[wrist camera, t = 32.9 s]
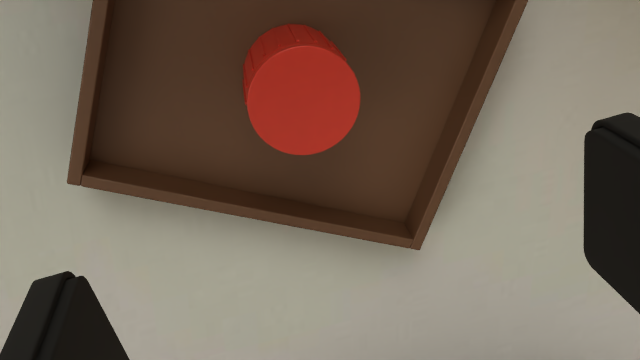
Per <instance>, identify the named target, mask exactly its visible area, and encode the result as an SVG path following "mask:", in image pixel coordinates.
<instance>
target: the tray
mask: <svg viewBox="0 0 640 360" xmlns="http://www.w3.org/2000/svg"><path fill="white" fill-rule="evenodd" d="M527 2H528V0H93V4H92V11H91V18H90V25H89V32H88V39H87V46H86V53H85V60H84V67H83V74H82V81H81V88H80V94H79V101H78V108H77V115H76V122H75V129H74V136H73V143H72V150H71V157H70V164H69V171H68V178H67V183H68V184H73V185H78V186H80V185H81V186H83V187H88V188H94V189H99V190H104V191H109V192H115V193H120V194H125V195H131V196H136V197H141V198H146V199H152V200H157V201H162V202H167V203H173V204H178V205H183V206H189V207H194V208H199V209H204V210H210V211H215V212H220V213H225V214H231V215H236V216H241V217H247V218H252V219H257V220H262V221H268V222H273V223H278V224H284V225H289V226H294V227H299V228H305V229H310V230H315V231H320V232H326V233H331V234H336V235H342V236H347V237H352V238H357V239H363V240H368V241H373V242H378V243H384V244H389V245H394V246H400V247H405V248H411V249H415V250H420V248H421V246H422V243H423V241H424V239H425V236H426V234H427V232H428V230H429V227H430V225H431V223H432V220H433V218H434V216H435V213H436V211H437V209H438V207H439V204H440V202H441V200H442V197H443V195H444V193H445V190H446V188H447V186H448V184H449V181H450V179H451V177H452V174H453V172H454V170H455V167H456V165H457V163H458V161H459V158H460V156H461V154H462V151H463V149H464V147H465V144H466V142H467V140H468V138H469V135H470V133H471V131H472V128H473V126H474V124H475V121H476V119H477V117H478V115H479V112H480V110H481V108H482V105H483V103H484V101H485V98H486V96H487V94H488V91H489V89H490V87H491V85H492V82H493V80H494V78H495V75H496V73H497V71H498V68H499V66H500V64H501V62H502V59H503V57H504V55H505V52H506V50H507V48H508V45H509V43H510V41H511V39H512V36H513V34H514V32H515V29H516V27H517V25H518V22H519V20H520V18H521V16H522V13H523V11H524V9H525V6H526V4H527ZM287 24H299V25H306V26H308V27H311V28H313V29H315V30H317V31H319V30H320V31H321V32H322V34H323V35H324V36H325V37H326V38H327V39H328V40H329V41H332V42H333V43H334V44H335V46H336V47H337V48H338V49H339V51H340V52H341V53H342V54H343V56H344V57H345V58H346V59H347V60H346V62H347V64H348V65H349V66H350V67H351V69H352V70H353V72H354V73H355V76H356V78H357V81H358V84H359V88H360V108H359V112H358V116H357V118H356V121H355V123H354V125H353V126H352V128H351V129H350V131H349V132H348V133H347V135H346V136H345V137H344V138H343V139H342V140H341V141H339V142H338V143H337V144H335V145H334V146H332V147H331V148H329V149H327V150H325V151H322V152H319V153H315V154H310V155H294V154H288V153H285V152H282V151H279V150H277V149H275V148H273V147H272V146H270V145H269V144H267V143H266V142H265V141H264V140H263V139H262V138H261V137H260V136H259V135H258V134H257V132H256V131H255V129H254V127H253V126H252V123H251V121H250V119H249V114H248V110H247V105H245V100H244V91H243V83H242V80H244V77H243V64H244V63H245V59H246V56H247V54H248V50H249V49H250V48H251V46H252V45H253V44H254V42H255V41H256V40H257V39H258V37H259V36H261V35H263V34H264V33H266V32H267V31H269V30H271V29H272V28H275V27H278V26H282V25H287Z"/></svg>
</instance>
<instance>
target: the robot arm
mask: <svg viewBox="0 0 640 360" xmlns="http://www.w3.org/2000/svg"><path fill="white" fill-rule="evenodd" d="M584 253H585V257H586V259H587V261H588V263H589V264H590V266H591V267H592V268H593V269H594V270H595V271H596V272H597V273H598V274H599V275H600V276H601V277H602V278H603V279H604V280H605V281H606V282H607V283H608V284H609V285H610V286H612V287H613V288H614V289H615V290H616V291H617V292H618V293H619V294H620V295H621V296H622V297H623V298H624V299H625V300H626V301H627V302H628V303H629V304H630V305H631V306H632V307H633V308H634V309H635V310H636V311H637V312H638V313H639V314H640V117H638V116H636V115H634V114H632V113H623V114H619V115H616V116H612V117H609V118H605V119H602V120H598V121H596V122H595V123H594V124H593V126H592V129H591V131H588V132H587V133H586V135H585V141H584ZM0 360H129V358H128V356H127V354H126V352H125V350H124V348H123V346H122V345H121V343H120V341H119V339H118V337H117V335H116V333H115V331H114V329H113V328H112V326H111V324H110V322H109V320H108V318H107V316H106V314H105V312H104V311H103V309H102V307H101V305H100V303H99V301H98V299H97V297H96V295H95V294H94V292H93V290H92V288H91V286H90V284H89V282H88V281H87V279H86V278H85V277H84V276H79V277H75V275H74V274H73V273H71V272H69V271H66V272H63V273H59V274H56V275H52V276H49V277H45V278H42V279H38V280H35V281H34V282H33V283H32V285H31V287H30V289H29V291H28V294H27V296H26V298H25V300H24V302H23V305H22V307H21V309H20V311H19V314H18V316H17V318H16V320H15V322H14V325H13V327H12V329H11V331H10V333H9V336H8V338H7V340H6V342H5V345H4V347H3V349H2V351H1V353H0Z"/></svg>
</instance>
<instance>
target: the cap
mask: <svg viewBox="0 0 640 360" xmlns="http://www.w3.org/2000/svg"><path fill="white" fill-rule="evenodd" d="M346 60H347V59H346V58H345V57H344V56H343V54H342V53H341V52H340V51H339V49H338V48H337V47H336V46H335V44H334V43H333V42H332V41H329V40H328V39H327V38H326V37H325V36H324V35H323V34H322V32H321V31H320V30H319V31H317V30H315V29H313V28H311V27H308V26H306V25H299V24H287V25H282V26H278V27H275V28H272V29H271V30H269V31H267V32H266V33H264V34H263V35H261V36H259V37H258V39H257V40H256V41H255V42H254V44H253V45H252V46H251V48H250V49H249V50H248V54H247V56H246V59H245V63H244V64H243V77H244V80H242V83H243V91H244V100H245V105H247V110H248V114H249V119H250V121H251V123H252V126H253V127H254V129H255V131H256V132H257V134H258V135H259V136H260V137H261V138H262V139H263V140H264V141H265V142H266V143H267V144H269V145H270V146H272V147H273V148H275V149H277V150H279V151H282V152H285V153H288V154H294V155H310V154H315V153H319V152H322V151H325V150H327V149H329V148H331V147H332V146H334V145H335V144H337V143H338V142H339V141H341V140H342V139H343V138H344V137H345V136H346V135H347V133H348V132H349V131H350V129H351V128H352V126H353V125H354V123H355V121H356V118H357V116H358V112H359V108H360V88H359V84H358V81H357V78H356V76H355V73H354V72H353V70H352V69H351V67H350V66H349V65H348V64H347V62H346Z"/></svg>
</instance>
